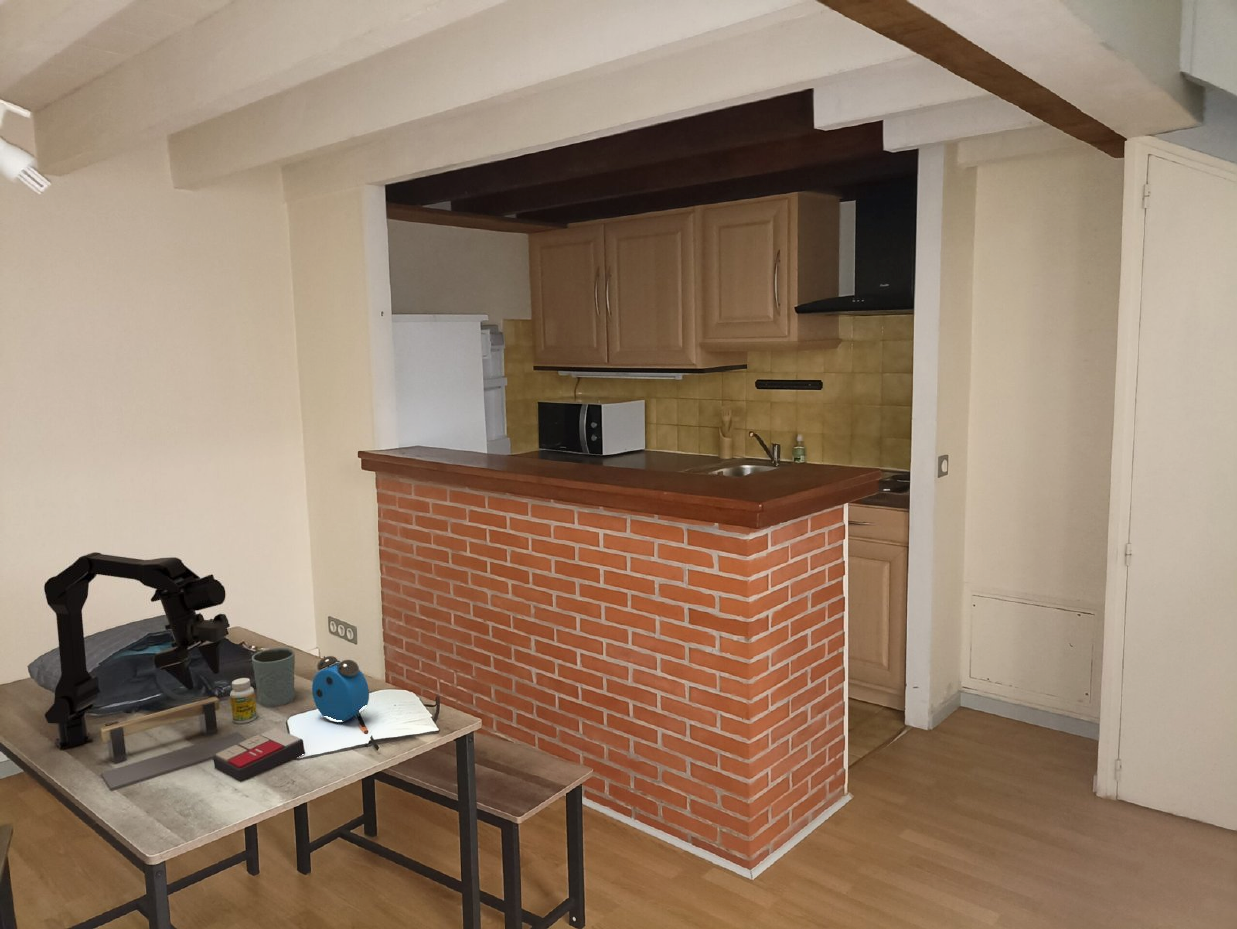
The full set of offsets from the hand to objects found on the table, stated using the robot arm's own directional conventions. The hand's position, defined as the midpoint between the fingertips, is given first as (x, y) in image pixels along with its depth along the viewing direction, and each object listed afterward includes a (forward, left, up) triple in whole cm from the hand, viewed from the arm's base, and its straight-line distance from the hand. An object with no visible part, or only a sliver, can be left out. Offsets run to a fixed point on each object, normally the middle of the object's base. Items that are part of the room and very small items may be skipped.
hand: (204, 681), depth 200 cm
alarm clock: (+7, +28, -16) cm, 33 cm away
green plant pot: (-16, +21, -16) cm, 31 cm away
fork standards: (-9, -7, -15) cm, 20 cm away
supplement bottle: (-10, +11, -16) cm, 22 cm away
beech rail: (-9, -7, -10) cm, 16 cm away
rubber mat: (+2, -7, -15) cm, 17 cm away
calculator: (+14, +6, -16) cm, 22 cm away
